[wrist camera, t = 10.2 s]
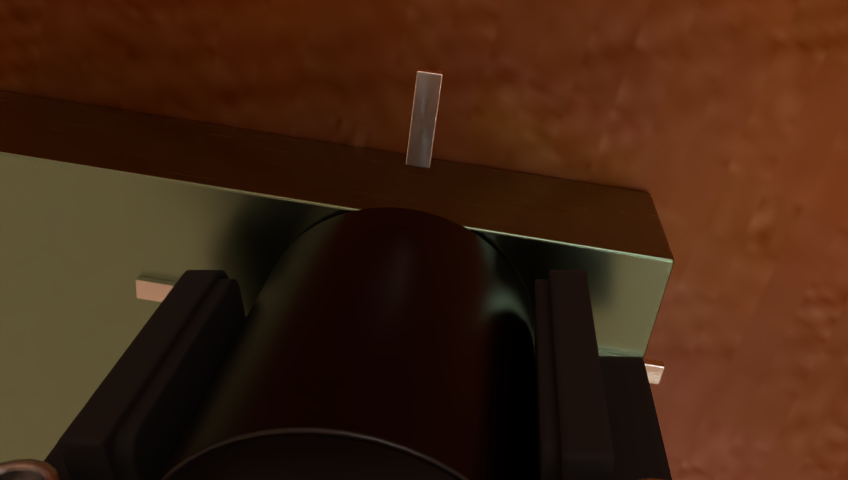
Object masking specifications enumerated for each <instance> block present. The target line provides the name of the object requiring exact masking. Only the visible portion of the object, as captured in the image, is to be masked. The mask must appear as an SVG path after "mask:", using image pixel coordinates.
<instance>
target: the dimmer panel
mask: <svg viewBox="0 0 848 480" xmlns="http://www.w3.org/2000/svg"><path fill="white" fill-rule="evenodd" d="M443 74H444V72H443V71H437V70H430V69H424V68H418V70H417V74H416V82H415V90H414V98H413V106H412V114H411V122H410V130H409V139H408V147H407V155H405V154H398V153H392V152H386V151H379V150H373V149H367V148H360V147H354V146H348V145H341V144H335V143H328V142H322V141H316V140H309V139H303V138H297V137H290V136H284V135H278V134H271V133H265V132H259V131H252V130H246V129H239V128H233V127H227V126H220V125H214V124H208V123H201V122H195V121H189V120H182V119H176V118H169V117H163V116H157V115H150V114H144V113H138V112H131V111H125V110H119V109H112V108H106V107H100V106H93V105H87V104H80V103H74V102H68V101H61V100H55V99H49V98H42V97H36V96H30V95H23V94H17V93H10V92H4V91H0V463H2V462H6V461H11V460H15V459H36V460H40V461H44V460H45V459H46V457H47V456H48V455H49V453H50V452H51V451H52V449H53V448H54V447H55V445H56V444H57V443H58V440H59V439H60V438H61V436H62V435H63V434H64V432H65V431H66V430H67V428H68V427H69V426H70V424H71V423H72V422H73V420H74V419H75V418H76V416H77V415H78V414H79V412H80V411H81V410H82V408H83V407H84V406H85V404H86V403H87V402H88V400H89V399H90V398H91V396H92V395H93V393H94V392H95V391H96V389H97V388H98V387H99V385H100V384H101V383H102V381H103V380H104V379H105V377H106V376H107V375H108V373H109V372H110V371H111V369H112V368H113V367H114V365H115V364H116V363H117V361H118V360H119V359H120V357H121V356H122V355H123V353H124V352H125V351H126V349H127V348H128V347H129V345H130V344H131V343H132V341H133V340H134V339H135V337H136V336H137V335H138V333H139V332H140V331H141V329H142V328H143V327H144V325H145V324H146V323H147V321H148V320H149V319H150V317H151V316H152V315H153V313H154V312H155V311H156V309H157V308H158V307H159V305H160V304H161V303H162V301H163V300H164V299H165V297H166V296H167V295H168V293H169V292H170V291H171V289H172V288H173V287H174V285H175V284H176V283H177V281H178V280H179V279H180V277H181V276H182V275H183V273H184V272H185V271H187V270H224V271H225V272H226V274H227V275H228V278H229V279H236V280H237V281H238V283H239V286H240V290H241V295H242V300H243V305H244V311H245V316H246V317H247V315H248V313H249V311H250V310H251V308H252V306H253V304H254V302H255V301H256V299H257V297H258V295H259V293H260V291H261V290H262V288H263V286H264V284H265V282H266V281H267V279H268V277H269V275H270V273H271V272H272V270H273V268H274V266H275V265H276V263H277V262H278V260H279V259H280V257H281V255H282V254H283V253H284V252H285V251H286V250H287V248H288V247H289V246H290V245H291V244H292V243H293V242H294V241H295V240H296V239H297V238H299V237H300V236H301V235H302V234H303V233H305V232H306V231H308V230H309V229H311V228H313V227H314V226H316V225H317V224H319V223H321V222H323V221H326V220H328V219H330V218H332V217H335V216H337V215H341V214H344V213H348V212H351V211H355V210H362V209H368V208H381V207H395V208H407V209H414V210H419V211H423V212H428V213H431V214H434V215H437V216H441V217H444V218H447V219H449V220H451V221H453V222H455V223H457V224H459V225H462V226H464V227H465V228H467V229H469V230H470V231H472V232H473V233H475V234H477V235H478V236H480V237H481V238H482V239H483V240H485V241H486V242H487V243H488V244H490V245H491V246H492V247H493V248H495V250H496V251H497V252H498V253H499V254H500V255H501V256H502V257H503V258H504V259H505V260H506V261H507V262H508V264H509V265H510V267H511V268H512V269H513V271H514V272H515V273H516V275H517V276H518V278H519V280H520V282H521V284H522V286H523V288H524V290H525V292H526V295H527V298H528V301H529V304H530V307H531V313H532V318H533V334H534V326H535V279H549V270H586V273H587V280H588V286H589V293H590V299H591V306H592V312H593V319H594V326H595V332H596V339H597V345H598V352H599V356H637V357H642V358H643V361H644V364H645V367H646V371H647V376H648V380H649V383H652V384H659V383H660V380H661V377H662V374H663V371H664V368H665V367H664V363H663V362H662V361H656V360H650V359H644V355H645V352H646V349H647V346H648V343H649V340H650V336H651V333H652V330H653V327H654V324H655V321H656V317H657V314H658V311H659V308H660V305H661V302H662V299H663V295H664V292H665V289H666V286H667V283H668V280H669V277H670V273H671V270H672V267H673V264H674V258H673V255H672V253H671V250H670V247H669V244H668V241H667V239H666V236H665V233H664V230H663V228H662V225H661V222H660V219H659V217H658V214H657V211H656V208H655V205H654V203H653V200H652V197H651V194H650V193H646V192H640V191H634V190H627V189H621V188H615V187H608V186H602V185H596V184H589V183H583V182H577V181H570V180H564V179H557V178H551V177H545V176H538V175H532V174H526V173H519V172H513V171H507V170H500V169H494V168H487V167H481V166H475V165H468V164H462V163H456V162H449V161H443V160H437V159H432V153H433V146H434V139H435V132H436V124H437V117H438V110H439V103H440V96H441V89H442V81H443Z"/></svg>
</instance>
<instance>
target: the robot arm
mask: <svg viewBox="0 0 848 480" xmlns="http://www.w3.org/2000/svg"><path fill="white" fill-rule="evenodd" d="M245 319H246V316H245V311H244V305H243V300H242V295H241V290H240V286H239V283H238V281H237V280H236V279H229V278H228V275H227V274H226V272H225V271H224V270H187V271H185V272H184V273H183V275H182V276H181V277H180V279H179V280H178V281H177V283H176V284H175V285H174V287H173V288H172V289H171V291H170V292H169V293H168V295H167V296H166V297H165V299H164V300H163V301H162V303H161V304H160V305H159V307H158V308H157V309H156V311H155V312H154V313H153V315H152V316H151V317H150V319H149V320H148V321H147V323H146V324H145V325H144V327H143V328H142V329H141V331H140V332H139V333H138V335H137V336H136V337H135V339H134V340H133V341H132V343H131V344H130V345H129V347H128V348H127V349H126V351H125V352H124V353H123V355H122V356H121V357H120V359H119V360H118V361H117V363H116V364H115V365H114V367H113V368H112V369H111V371H110V372H109V373H108V375H107V376H106V377H105V379H104V380H103V381H102V383H101V384H100V385H99V387H98V388H97V389H96V391H95V392H94V393H93V395H92V396H91V398H90V399H89V400H88V402H87V403H86V404H85V406H84V407H83V408H82V410H81V411H80V412H79V414H78V415H77V416H76V418H75V419H74V420H73V422H72V423H71V424H70V426H69V427H68V428H67V430H66V431H65V432H64V434H63V435H62V436H61V438H60V439H59V440H58V443H57V444H56V445H55V447H54V448H53V449H52V451H51V452H50V453H49V455H48V456H47V457H46V459H45V460H44V461H40V460H36V459H15V460H11V461H6V462H2V463H0V480H156V479H157V477H158V476H159V474H160V472H161V470H162V468H163V467H164V465H165V463H166V461H167V459H168V457H169V456H170V454H171V452H172V450H173V448H174V447H175V445H176V443H177V441H178V439H179V438H180V436H181V434H182V432H183V430H184V429H185V427H186V425H187V423H188V421H189V420H190V418H191V416H192V414H193V412H194V411H195V409H196V407H197V405H198V403H199V402H200V400H201V398H202V396H203V394H204V393H205V391H206V389H207V387H208V385H209V384H210V382H211V380H212V378H213V376H214V374H215V373H216V371H217V369H218V367H219V365H220V364H221V362H222V360H223V358H224V356H225V355H226V353H227V351H228V349H229V347H230V346H231V344H232V342H233V340H234V338H235V337H236V335H237V333H238V331H239V329H240V328H241V326H242V324H243V322H244V320H245ZM534 367H535V399H536V432H537V465H538V480H672V478H671V474H670V469H669V465H668V461H667V457H666V452H665V448H664V444H663V440H662V435H661V431H660V427H659V423H658V418H657V414H656V410H655V406H654V401H653V397H652V393H651V389H650V384H649V380H648V376H647V371H646V367H645V364H644V361H643V358H642V357H637V356H599V352H598V345H597V339H596V332H595V326H594V319H593V312H592V306H591V299H590V293H589V286H588V280H587V273H586V270H549V279H535V326H534Z"/></svg>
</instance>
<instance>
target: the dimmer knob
mask: <svg viewBox="0 0 848 480" xmlns="http://www.w3.org/2000/svg"><path fill="white" fill-rule="evenodd" d="M156 480H538V465H537V432H536V399H535V367H534V334H533V318H532V313H531V307H530V304H529V301H528V298H527V295H526V292H525V290H524V288H523V286H522V284H521V282H520V280H519V278H518V276H517V275H516V273H515V272H514V271H513V269H512V268H511V267H510V265H509V264H508V262H507V261H506V260H505V259H504V258H503V257H502V256H501V255H500V254H499V253H498V252H497V251H496V250H495V248H493V247H492V246H491V245H490V244H488V243H487V242H486V241H485V240H483V239H482V238H481V237H480V236H478V235H477V234H475V233H473V232H472V231H470V230H469V229H467V228H465V227H464V226H462V225H459V224H457V223H455V222H453V221H451V220H449V219H447V218H444V217H441V216H437V215H434V214H431V213H428V212H423V211H419V210H414V209H407V208H395V207H381V208H368V209H362V210H355V211H351V212H348V213H344V214H341V215H337V216H335V217H332V218H330V219H328V220H326V221H323V222H321V223H319V224H317V225H316V226H314V227H313V228H311V229H309V230H308V231H306V232H305V233H303V234H302V235H301V236H300V237H299V238H297V239H296V240H295V241H294V242H293V243H292V244H291V245H290V246H289V247H288V248H287V250H286V251H285V252H284V253H283V254H282V255H281V257H280V259H279V260H278V262H277V263H276V265H275V266H274V268H273V270H272V272H271V273H270V275H269V277H268V279H267V281H266V282H265V284H264V286H263V288H262V290H261V291H260V293H259V295H258V297H257V299H256V301H255V302H254V304H253V306H252V308H251V310H250V311H249V313H248V315H247V317H246V319H245V320H244V322H243V324H242V326H241V328H240V329H239V331H238V333H237V335H236V337H235V338H234V340H233V342H232V344H231V346H230V347H229V349H228V351H227V353H226V355H225V356H224V358H223V360H222V362H221V364H220V365H219V367H218V369H217V371H216V373H215V374H214V376H213V378H212V380H211V382H210V384H209V385H208V387H207V389H206V391H205V393H204V394H203V396H202V398H201V400H200V402H199V403H198V405H197V407H196V409H195V411H194V412H193V414H192V416H191V418H190V420H189V421H188V423H187V425H186V427H185V429H184V430H183V432H182V434H181V436H180V438H179V439H178V441H177V443H176V445H175V447H174V448H173V450H172V452H171V454H170V456H169V457H168V459H167V461H166V463H165V465H164V467H163V468H162V470H161V472H160V474H159V476H158V477H157V479H156Z"/></svg>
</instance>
